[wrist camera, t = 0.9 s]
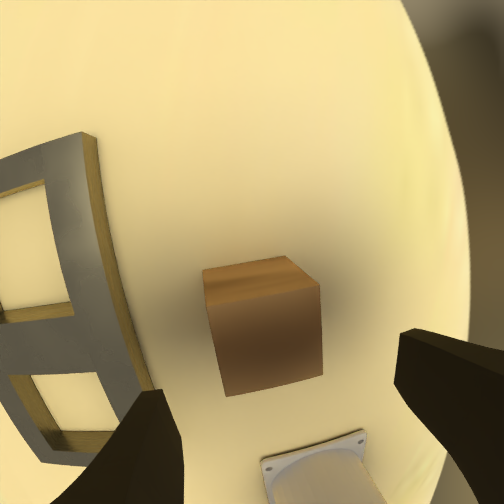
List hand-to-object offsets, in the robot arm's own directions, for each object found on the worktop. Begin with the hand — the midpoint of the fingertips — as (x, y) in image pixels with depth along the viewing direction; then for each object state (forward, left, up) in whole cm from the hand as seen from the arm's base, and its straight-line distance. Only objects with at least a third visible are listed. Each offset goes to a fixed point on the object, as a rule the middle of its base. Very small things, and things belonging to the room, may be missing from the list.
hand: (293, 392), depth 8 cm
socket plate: (0, +11, -7) cm, 13 cm away
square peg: (0, 0, -7) cm, 7 cm away
